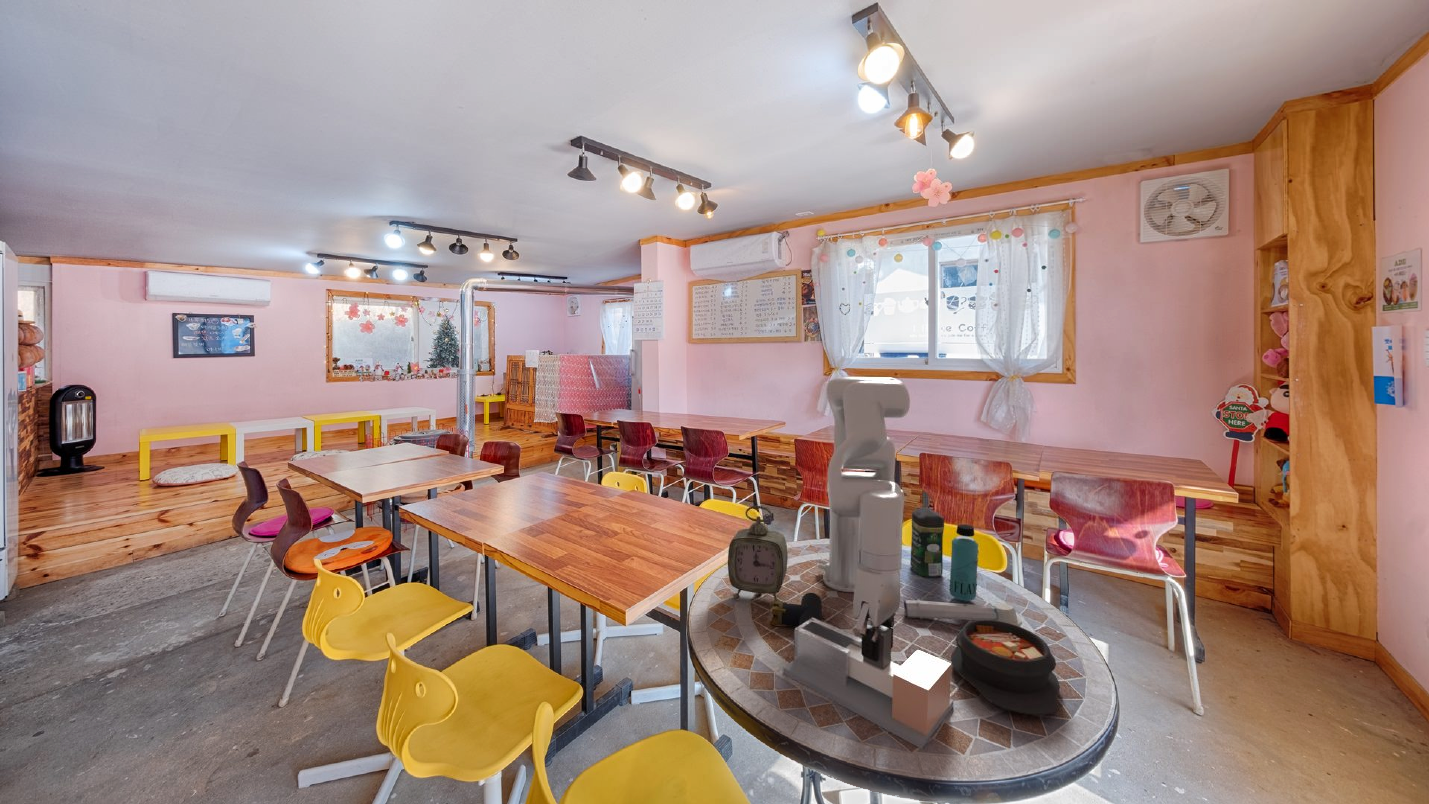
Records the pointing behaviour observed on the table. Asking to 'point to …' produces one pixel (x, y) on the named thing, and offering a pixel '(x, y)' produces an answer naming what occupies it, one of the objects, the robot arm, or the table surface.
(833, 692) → the base board
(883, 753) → the table surface
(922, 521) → the coffee jar
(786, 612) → the pipe connector
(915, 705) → the socket block
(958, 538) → the beverage bottle
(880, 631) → the sliding latch bolt
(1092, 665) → the table surface
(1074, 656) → the table surface
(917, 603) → the electric cleaning brush
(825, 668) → the outer sleeve
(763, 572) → the tabletop clock
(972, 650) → the casserole
